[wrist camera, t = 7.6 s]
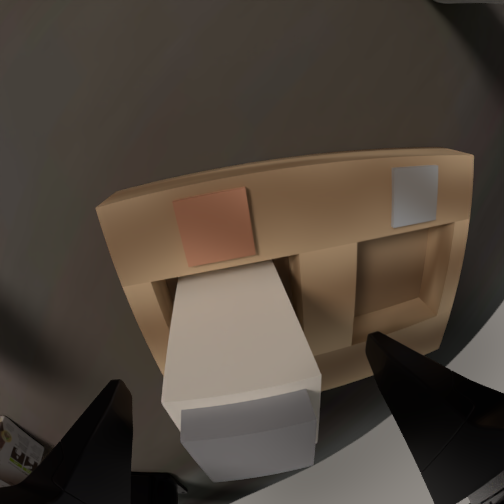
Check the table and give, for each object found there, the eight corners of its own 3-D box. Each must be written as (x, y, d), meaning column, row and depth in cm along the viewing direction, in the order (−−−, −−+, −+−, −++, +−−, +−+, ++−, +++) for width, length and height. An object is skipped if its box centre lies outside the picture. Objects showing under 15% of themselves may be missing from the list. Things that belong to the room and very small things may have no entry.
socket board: (419, 326, 17) (440, 350, 15) (186, 384, 16) (186, 418, 14) (440, 147, 12) (476, 156, 10) (116, 191, 11) (93, 209, 9)
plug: (278, 324, 14) (325, 465, 7) (200, 338, 14) (205, 486, 7) (269, 254, 13) (334, 406, 6) (179, 270, 13) (158, 435, 5)
